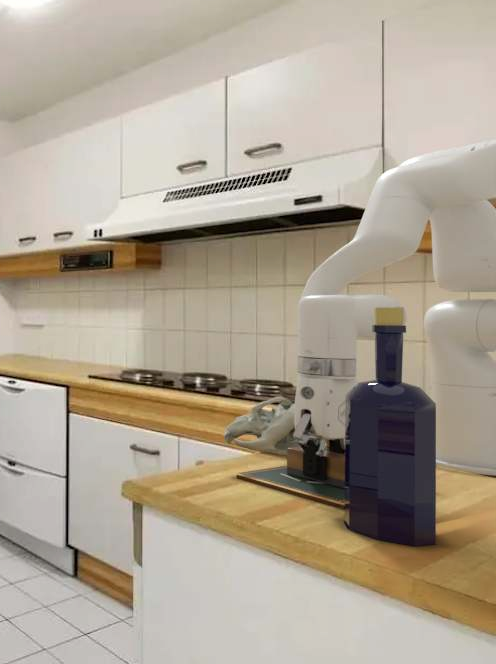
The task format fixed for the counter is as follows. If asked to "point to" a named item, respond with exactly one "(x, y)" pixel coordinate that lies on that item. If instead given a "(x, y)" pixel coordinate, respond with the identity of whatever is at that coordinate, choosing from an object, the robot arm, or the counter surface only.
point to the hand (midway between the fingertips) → (325, 475)
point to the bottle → (390, 447)
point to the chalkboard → (296, 485)
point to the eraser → (333, 466)
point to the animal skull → (266, 428)
